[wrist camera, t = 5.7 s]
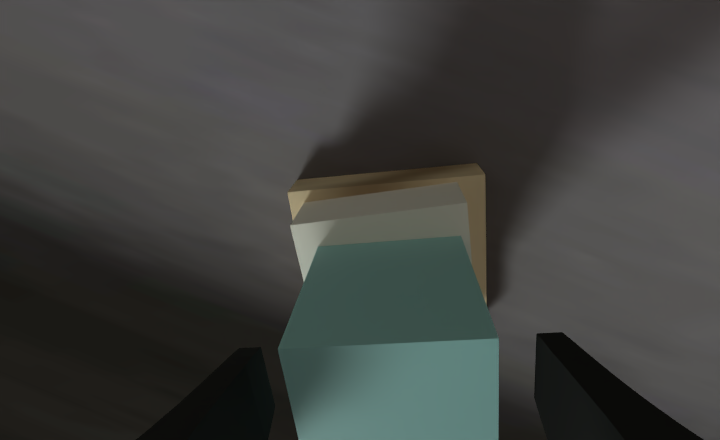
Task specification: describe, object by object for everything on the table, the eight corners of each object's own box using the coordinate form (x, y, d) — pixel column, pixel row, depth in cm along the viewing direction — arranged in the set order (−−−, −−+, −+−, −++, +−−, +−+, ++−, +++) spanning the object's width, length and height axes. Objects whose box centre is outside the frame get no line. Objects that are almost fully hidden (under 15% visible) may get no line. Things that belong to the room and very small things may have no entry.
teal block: (461, 235, 13) (498, 338, 8) (464, 353, 14) (498, 495, 10) (318, 246, 13) (277, 348, 9) (337, 359, 15) (311, 496, 10)
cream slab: (456, 181, 14) (467, 202, 12) (468, 314, 16) (478, 351, 14) (304, 202, 15) (290, 225, 13) (332, 327, 17) (324, 364, 15)
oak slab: (474, 159, 16) (485, 174, 14) (476, 311, 19) (486, 342, 17) (300, 175, 17) (287, 192, 15) (325, 319, 20) (317, 349, 18)
